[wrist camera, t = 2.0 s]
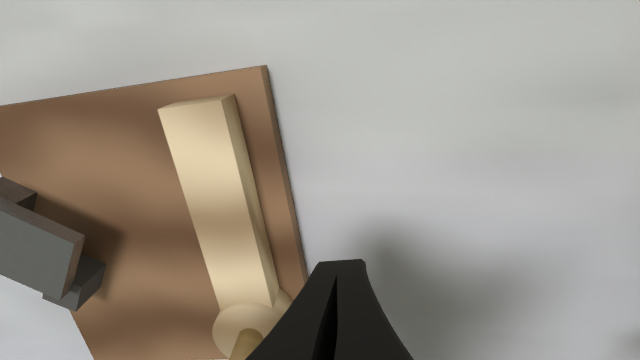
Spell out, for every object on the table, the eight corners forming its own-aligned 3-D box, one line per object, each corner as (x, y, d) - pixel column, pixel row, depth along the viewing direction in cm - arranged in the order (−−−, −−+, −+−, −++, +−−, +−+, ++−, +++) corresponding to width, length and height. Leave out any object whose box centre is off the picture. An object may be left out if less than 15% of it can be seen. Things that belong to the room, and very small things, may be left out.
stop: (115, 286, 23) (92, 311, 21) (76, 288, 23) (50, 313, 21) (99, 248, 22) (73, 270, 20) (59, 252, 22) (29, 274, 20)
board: (320, 341, 25) (318, 356, 24) (106, 349, 27) (96, 363, 26) (266, 64, 18) (260, 67, 17) (-10, 107, 21) (-31, 111, 19)
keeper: (100, 263, 23) (59, 300, 19) (-3, 217, 22) (-61, 248, 19) (115, 212, 21) (74, 244, 18) (5, 161, 20) (-57, 185, 17)
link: (301, 336, 23) (290, 394, 19) (234, 339, 24) (211, 396, 20) (248, 91, 17) (218, 108, 14) (162, 103, 18) (112, 122, 14)
